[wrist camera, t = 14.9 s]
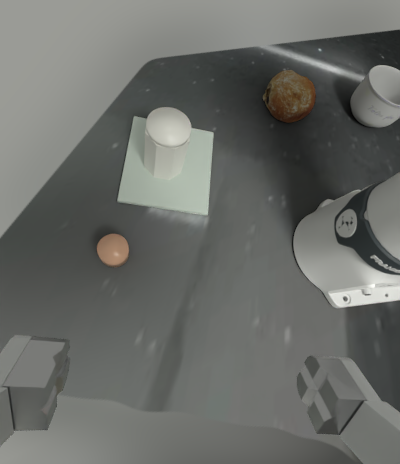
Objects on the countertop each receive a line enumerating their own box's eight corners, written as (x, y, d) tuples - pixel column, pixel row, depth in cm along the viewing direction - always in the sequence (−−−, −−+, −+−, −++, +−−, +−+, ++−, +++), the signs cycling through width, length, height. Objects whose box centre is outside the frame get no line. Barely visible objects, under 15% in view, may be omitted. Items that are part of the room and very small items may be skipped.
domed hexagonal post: (183, 150, 46) (193, 112, 38) (180, 181, 44) (189, 148, 36) (147, 144, 45) (149, 102, 37) (142, 175, 43) (143, 139, 35)
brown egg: (131, 242, 40) (130, 235, 37) (126, 268, 38) (125, 264, 36) (103, 238, 39) (100, 231, 36) (97, 265, 38) (93, 261, 35)
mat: (212, 134, 49) (213, 132, 48) (206, 215, 44) (207, 214, 43) (134, 118, 47) (133, 116, 46) (117, 202, 41) (117, 200, 41)
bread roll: (258, 98, 59) (257, 69, 52) (305, 81, 58) (311, 49, 50) (270, 136, 57) (271, 111, 49) (320, 120, 55) (329, 91, 47)
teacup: (349, 132, 57) (380, 103, 49) (336, 91, 60) (364, 59, 52) (403, 137, 60) (440, 110, 52) (388, 98, 63) (422, 67, 56)
